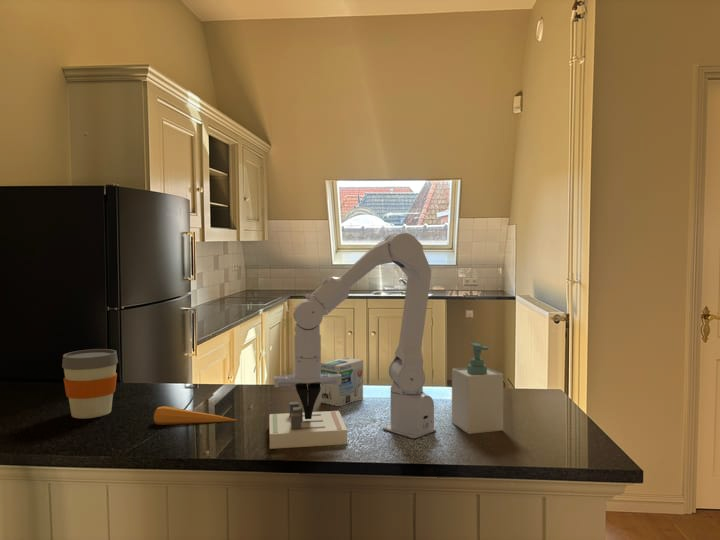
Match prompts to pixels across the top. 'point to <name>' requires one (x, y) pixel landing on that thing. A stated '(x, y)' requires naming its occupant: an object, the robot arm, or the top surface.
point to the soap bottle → (477, 396)
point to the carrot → (184, 416)
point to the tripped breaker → (298, 411)
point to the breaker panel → (306, 429)
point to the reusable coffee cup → (90, 381)
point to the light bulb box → (343, 381)
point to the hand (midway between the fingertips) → (308, 417)
